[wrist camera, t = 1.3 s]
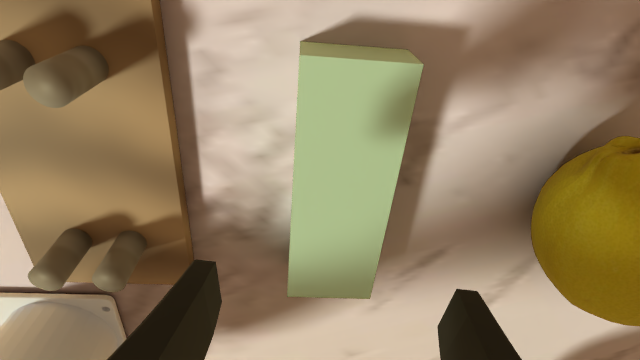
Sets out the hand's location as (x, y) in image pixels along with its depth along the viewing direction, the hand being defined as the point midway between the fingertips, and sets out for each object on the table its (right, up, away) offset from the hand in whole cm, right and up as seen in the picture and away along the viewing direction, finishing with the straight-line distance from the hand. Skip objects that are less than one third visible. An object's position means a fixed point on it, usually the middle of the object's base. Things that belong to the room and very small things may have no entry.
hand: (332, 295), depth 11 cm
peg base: (-12, +5, +8) cm, 15 cm away
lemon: (+15, +3, +11) cm, 18 cm away
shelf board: (+1, +4, +10) cm, 10 cm away
